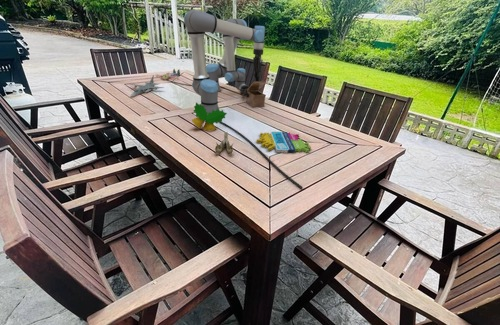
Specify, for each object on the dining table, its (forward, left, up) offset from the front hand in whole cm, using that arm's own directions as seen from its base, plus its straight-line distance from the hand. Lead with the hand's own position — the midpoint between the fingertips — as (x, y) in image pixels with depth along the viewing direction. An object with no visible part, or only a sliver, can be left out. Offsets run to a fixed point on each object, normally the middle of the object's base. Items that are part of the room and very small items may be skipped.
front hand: (256, 80), depth 208 cm
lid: (-1, 0, -5) cm, 5 cm away
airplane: (+42, +88, -19) cm, 99 cm away
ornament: (-49, +44, -19) cm, 69 cm away
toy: (+100, +66, -19) cm, 121 cm away
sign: (-76, +6, -19) cm, 79 cm away
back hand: (+2, 0, -12) cm, 13 cm away
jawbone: (-82, +41, -19) cm, 93 cm away
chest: (-1, 0, -19) cm, 19 cm away
